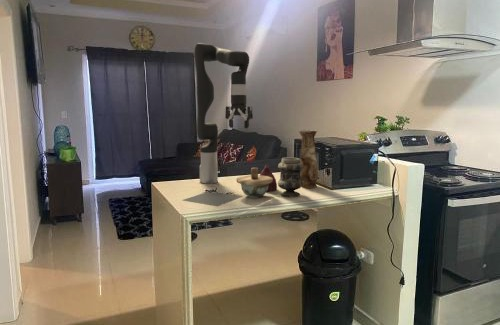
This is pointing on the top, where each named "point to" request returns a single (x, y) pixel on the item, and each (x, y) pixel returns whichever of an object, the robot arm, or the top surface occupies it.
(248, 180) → the lid
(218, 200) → the mat
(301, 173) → the vase
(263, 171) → the vegetable
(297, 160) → the apothecary jar
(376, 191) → the top surface
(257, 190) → the bowl
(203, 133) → the robot arm
